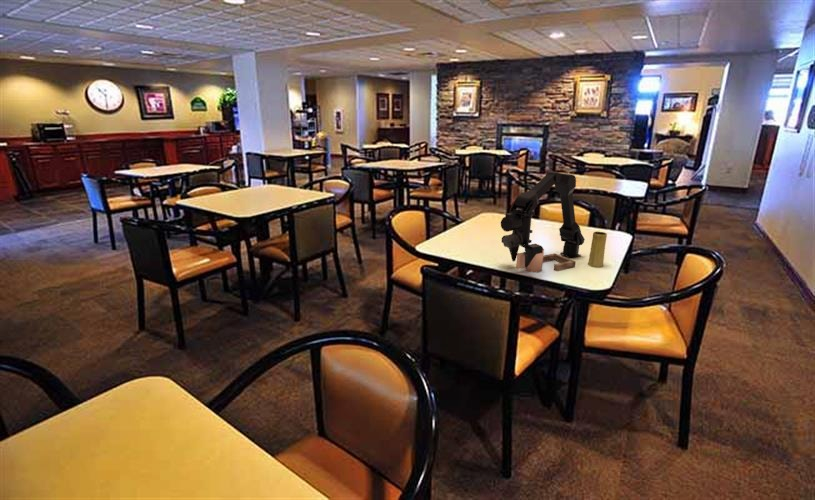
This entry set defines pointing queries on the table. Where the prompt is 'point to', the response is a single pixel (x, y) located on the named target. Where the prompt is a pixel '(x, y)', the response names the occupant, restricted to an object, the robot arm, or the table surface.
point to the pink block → (534, 264)
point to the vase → (597, 249)
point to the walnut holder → (563, 264)
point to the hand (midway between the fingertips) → (519, 264)
